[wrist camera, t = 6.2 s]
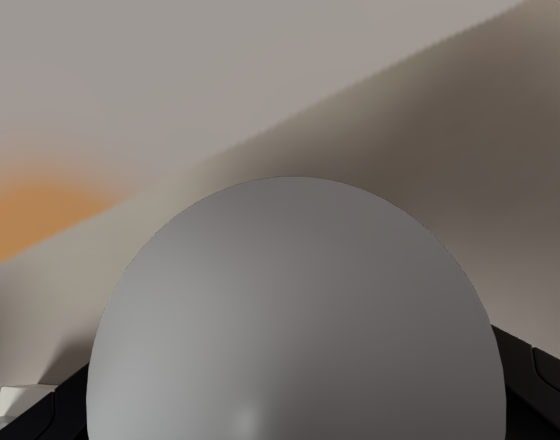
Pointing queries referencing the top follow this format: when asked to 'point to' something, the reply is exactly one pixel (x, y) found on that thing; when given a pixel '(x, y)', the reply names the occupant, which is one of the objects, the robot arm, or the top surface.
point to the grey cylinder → (295, 326)
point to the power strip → (20, 400)
